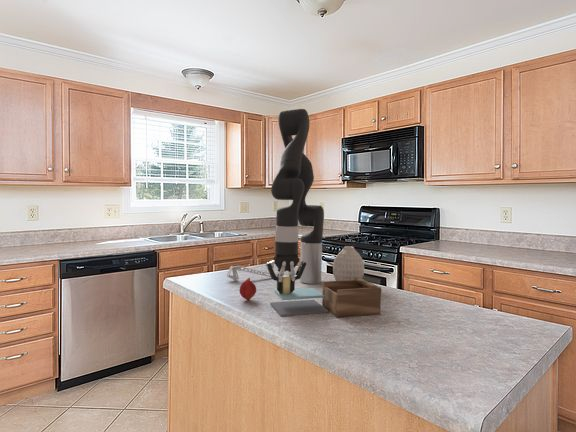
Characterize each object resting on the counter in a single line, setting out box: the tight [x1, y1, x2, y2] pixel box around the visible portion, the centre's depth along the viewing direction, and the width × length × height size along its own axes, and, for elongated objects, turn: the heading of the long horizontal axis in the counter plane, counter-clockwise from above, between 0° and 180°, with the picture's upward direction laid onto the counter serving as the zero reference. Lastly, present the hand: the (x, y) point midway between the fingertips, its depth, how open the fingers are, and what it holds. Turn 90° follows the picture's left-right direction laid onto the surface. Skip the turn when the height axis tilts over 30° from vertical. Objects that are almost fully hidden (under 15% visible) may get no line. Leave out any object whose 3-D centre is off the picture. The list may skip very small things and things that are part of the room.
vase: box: [332, 245, 365, 281], centre depth 152 cm, size 13×13×17 cm
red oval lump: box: [239, 277, 257, 301], centre depth 130 cm, size 6×6×8 cm
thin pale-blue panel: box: [274, 275, 324, 301], centre depth 121 cm, size 10×14×6 cm
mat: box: [269, 299, 330, 317], centre depth 122 cm, size 13×16×1 cm
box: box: [321, 277, 382, 319], centre depth 121 cm, size 12×15×9 cm
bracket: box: [225, 265, 277, 282], centre depth 162 cm, size 3×21×10 cm, turn 113°
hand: (285, 292), depth 120 cm, fingers closed on thin pale-blue panel, 3 cm apart
